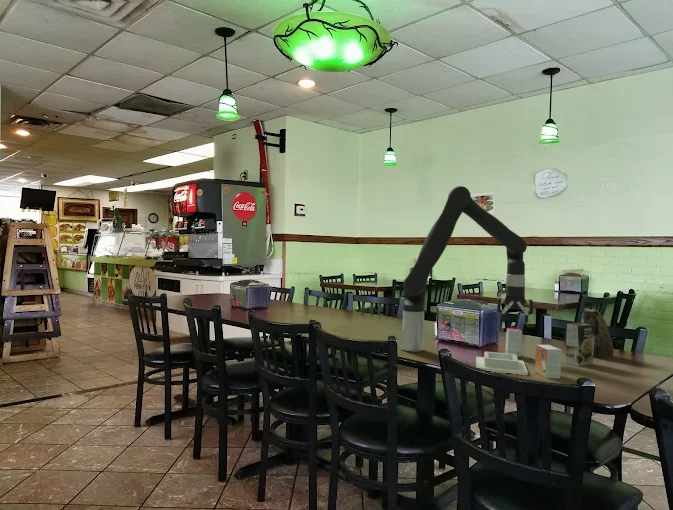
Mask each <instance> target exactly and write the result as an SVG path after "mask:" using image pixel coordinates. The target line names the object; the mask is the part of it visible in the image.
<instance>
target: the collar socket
mask: <svg viewBox="0 0 673 510" xmlns="http://www.w3.org/2000/svg"><path fill="white" fill-rule="evenodd" d="M483 352H484V353H483V356H476V357H475V359H476V360H475V369H476V368H480V369H483V370H486V371H491V372H490V373H495V372H496V373H497V374H506V373H511V374H510V375H516V374H518V375H517V376H519V375H520V376H527V375H529V372H528V369H527V367H526V365H525V362H524V360H519V358H517V355H516V354H508V353H505V352H493V351H483Z"/></svg>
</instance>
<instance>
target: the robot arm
mask: <svg viewBox="0 0 673 510" xmlns="http://www.w3.org/2000/svg"><path fill="white" fill-rule="evenodd" d="M462 214H465V215H466V216H467V217H469V218H470V219H472V220H473V222H475V223H476V224H477V225H478V226H480V227H481V228H482V229H483V231H485V232H486V233H487V234H488V235H489V236H491V237H492V238H493V239H494V240H496V241H497V242H500V243H501V244H502V245H503V246H504V247H506V261H507V265H506V266H507V267H506V278H505V298H502V297H498V298H497V306H496V308H497V309H496V312H497V313H500V314H501V315H500V317H501V318H500V321H501V322H502V323H503V324H505V322H506V313H507V311H508V310H509V309H511V310H522V312H523V314H524V316H523V324H524V325H527V324H528V323H529V315H533V314H534V302H533V301H534V300H533V299H531V298H530V299H526V297H525V296H526V276H525V274H526V273H525V271H526V268H525V267H526V264H525V261H524V253H525V252H526V251H527V249H528V248H527V242H526V240H525V239H523V237H521V236H520V235H518V234H517V233H515V232H514V231H512V230H511V229H510V228H509V227H508V226H507V225H505V223H503V222H502V221H501V220H500V219H498V218H497V217H495V216H494V215H493V214H491V213H490V212H488V211H487V210H485V208H482V207H481V206H480V205H479V204H478V203H477V202H476V201H475V200H474V199H473V198H472V195H471V192H470V190H469V189H468V188H467V187H466V186H462V185H458V186H456V187H453V188H452V189H451V190H450V191H449V193H448V195H447V199H446V202H445V205H444V206H443V210H442V212H441V214H440V215H439V217H438V218H437V220H436V221H435V222H434V224H433V225H432V227H431V228H430V230H429V232H428V234H427V236H426V237H425V239H424V242H423V243H422V246H421V248H420V251H419V254H418V257H417V260H416V261H415V264H414V265H413V267H412V268H411V270H410V272H409V273H408V275H407V276H406V277H405V279H404V281H403V284H402V285H403V286H402V287H403V290H404V291H403V304H402V327H401V339H400V341H401V343H400V344H401V345H400V350H402V351H407V352H417V353H418V352H422V351H423V350H424V334H425V333H424V332H425V331H424V330H425V329H424V328H425V305H426V304H425V303H426V285H427V281H428V279H429V276H430V273H431V272H432V271H433V268H434V267H435V265H436V264H437V262H438V261H439V260H440V258H441V256H442V255H443V253H444V252H445V250H446V248H447V246H448V244H449V242H450V240H451V238H452V235H453V232H454V230H455V227H456V225H457V222H458V220H459V218H460V217H461V216H462ZM503 303H505V304H506V305H505V306H504V308H503V309H501V307H502V306H501V305H502V304H503ZM526 303H527V305H528V308H529V310H526V308H525V306H524V305H525V304H526Z"/></svg>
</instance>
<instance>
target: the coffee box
mask: <svg viewBox="0 0 673 510" xmlns="http://www.w3.org/2000/svg"><path fill="white" fill-rule="evenodd" d="M566 325H567V326H566V342H565V344H566V345H565V364H569V365H573V366H576V367H582V366H583V367H584V366H590V365H594V358H593V353H594V330H595V325H593V324H586V323H584V322H572V323H567V324H566Z"/></svg>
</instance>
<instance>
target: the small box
mask: <svg viewBox="0 0 673 510" xmlns="http://www.w3.org/2000/svg"><path fill="white" fill-rule="evenodd" d="M535 346H536V347H535V361H534V363H535V364H534V365H535V366H534V373H537V374H538V375H540V376H542V378H544V379H561V371H562V369H561V368H562V367H561V366H562V351H563V350H562V349H561V348H558V347H555V346H554V345H551V344H536V345H535Z"/></svg>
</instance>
